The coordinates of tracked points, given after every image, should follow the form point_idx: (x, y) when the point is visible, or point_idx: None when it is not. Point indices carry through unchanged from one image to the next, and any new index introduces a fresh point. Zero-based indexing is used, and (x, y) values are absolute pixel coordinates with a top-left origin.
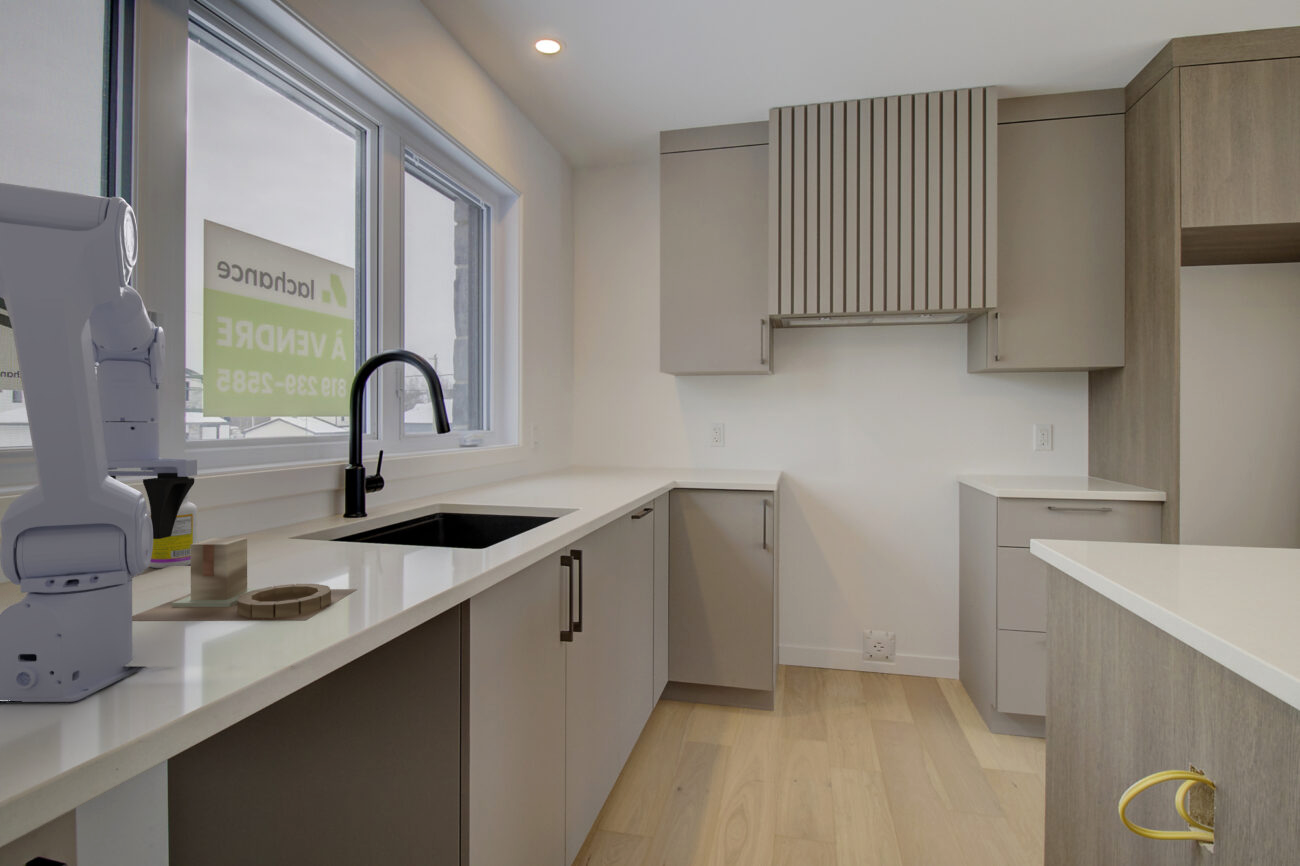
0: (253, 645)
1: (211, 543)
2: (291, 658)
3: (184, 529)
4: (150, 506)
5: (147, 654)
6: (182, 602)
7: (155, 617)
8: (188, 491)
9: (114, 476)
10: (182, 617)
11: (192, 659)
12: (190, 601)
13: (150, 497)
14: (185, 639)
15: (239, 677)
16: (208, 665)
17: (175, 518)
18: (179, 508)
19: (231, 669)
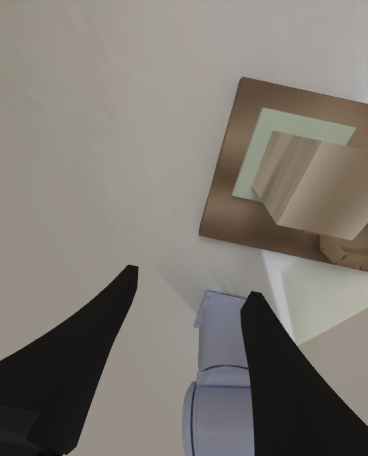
0: (321, 287)
1: (320, 223)
2: (346, 313)
3: None
4: (251, 389)
5: (246, 285)
6: (244, 196)
7: (228, 232)
8: (356, 416)
9: (34, 432)
10: (256, 238)
11: (279, 300)
12: (253, 193)
13: (258, 422)
14: (265, 263)
15: (311, 328)
16: (292, 310)
17: (281, 325)
18: (300, 351)
19: (306, 318)
